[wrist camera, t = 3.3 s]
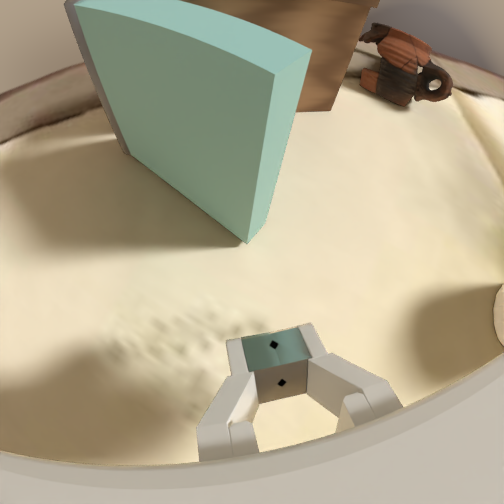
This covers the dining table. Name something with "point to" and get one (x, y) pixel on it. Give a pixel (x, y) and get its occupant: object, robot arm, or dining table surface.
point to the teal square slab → (195, 98)
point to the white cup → (499, 314)
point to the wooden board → (308, 37)
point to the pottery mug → (403, 68)
